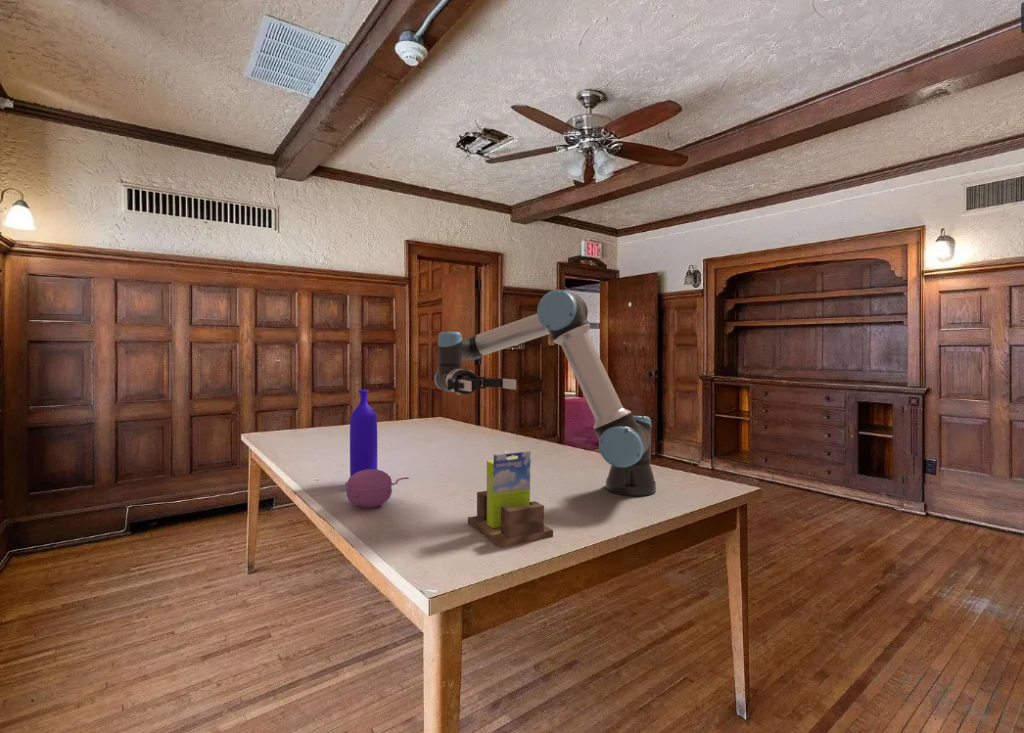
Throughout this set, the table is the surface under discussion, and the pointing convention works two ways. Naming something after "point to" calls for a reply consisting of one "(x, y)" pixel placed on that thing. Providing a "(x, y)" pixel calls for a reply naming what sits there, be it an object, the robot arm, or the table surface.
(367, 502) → the pink toy mouse
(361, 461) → the bottle
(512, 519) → the slot stand
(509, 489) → the box
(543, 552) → the table surface
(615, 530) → the table surface
